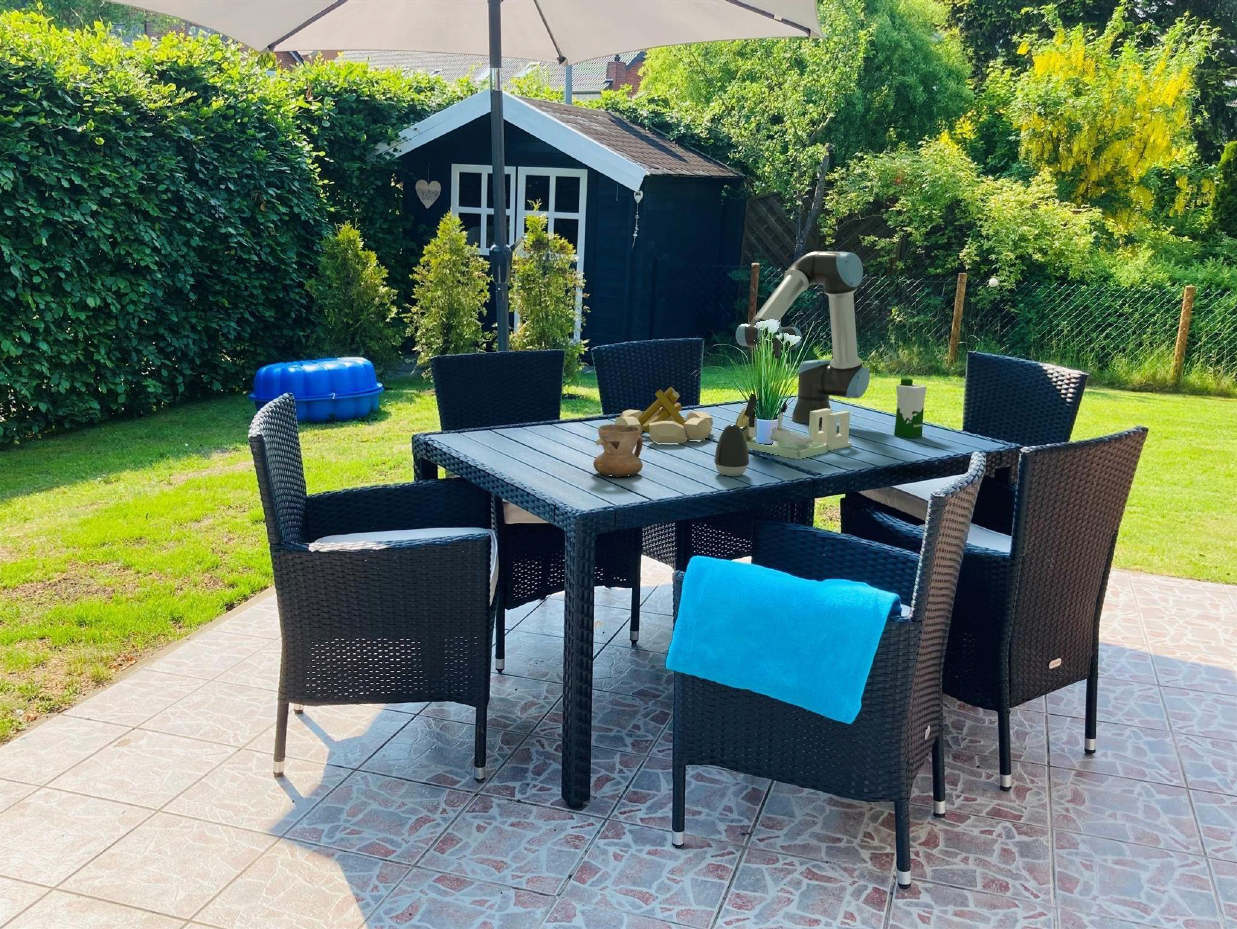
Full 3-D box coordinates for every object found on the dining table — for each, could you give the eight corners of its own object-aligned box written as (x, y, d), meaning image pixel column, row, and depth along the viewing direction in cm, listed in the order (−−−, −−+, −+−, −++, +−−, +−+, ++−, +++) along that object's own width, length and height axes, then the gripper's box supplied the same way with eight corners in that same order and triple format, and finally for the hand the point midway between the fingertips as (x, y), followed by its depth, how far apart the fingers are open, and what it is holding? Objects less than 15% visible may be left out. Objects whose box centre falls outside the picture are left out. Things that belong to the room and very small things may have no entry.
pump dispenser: (756, 476, 319) (758, 425, 315) (728, 480, 313) (730, 428, 310) (734, 469, 327) (736, 420, 324) (707, 473, 322) (708, 423, 318)
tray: (752, 438, 374) (752, 431, 373) (827, 452, 353) (827, 445, 352) (722, 444, 363) (722, 437, 362) (798, 459, 341) (799, 451, 341)
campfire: (728, 433, 384) (729, 385, 380) (689, 450, 355) (690, 399, 351) (640, 423, 400) (641, 378, 396) (596, 439, 370) (596, 390, 367)
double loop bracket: (804, 445, 364) (805, 411, 361) (824, 440, 372) (826, 407, 369) (831, 450, 356) (833, 416, 353) (851, 445, 364) (854, 411, 362)
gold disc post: (728, 439, 363) (733, 405, 359) (750, 434, 372) (756, 401, 368) (794, 466, 345) (801, 430, 342) (816, 460, 354) (823, 426, 350)
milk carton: (904, 432, 388) (908, 377, 383) (926, 436, 381) (930, 380, 377) (890, 435, 382) (893, 379, 378) (911, 439, 375) (916, 382, 371)
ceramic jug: (611, 483, 308) (613, 434, 305) (579, 473, 319) (581, 426, 316) (657, 475, 320) (660, 428, 317) (625, 466, 330) (627, 420, 327)
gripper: (753, 375, 343) (751, 440, 348) (799, 368, 361) (796, 430, 365) (735, 372, 349) (732, 437, 353) (781, 366, 366) (778, 427, 371)
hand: (765, 434), depth 359 cm, fingers open, 13 cm apart
